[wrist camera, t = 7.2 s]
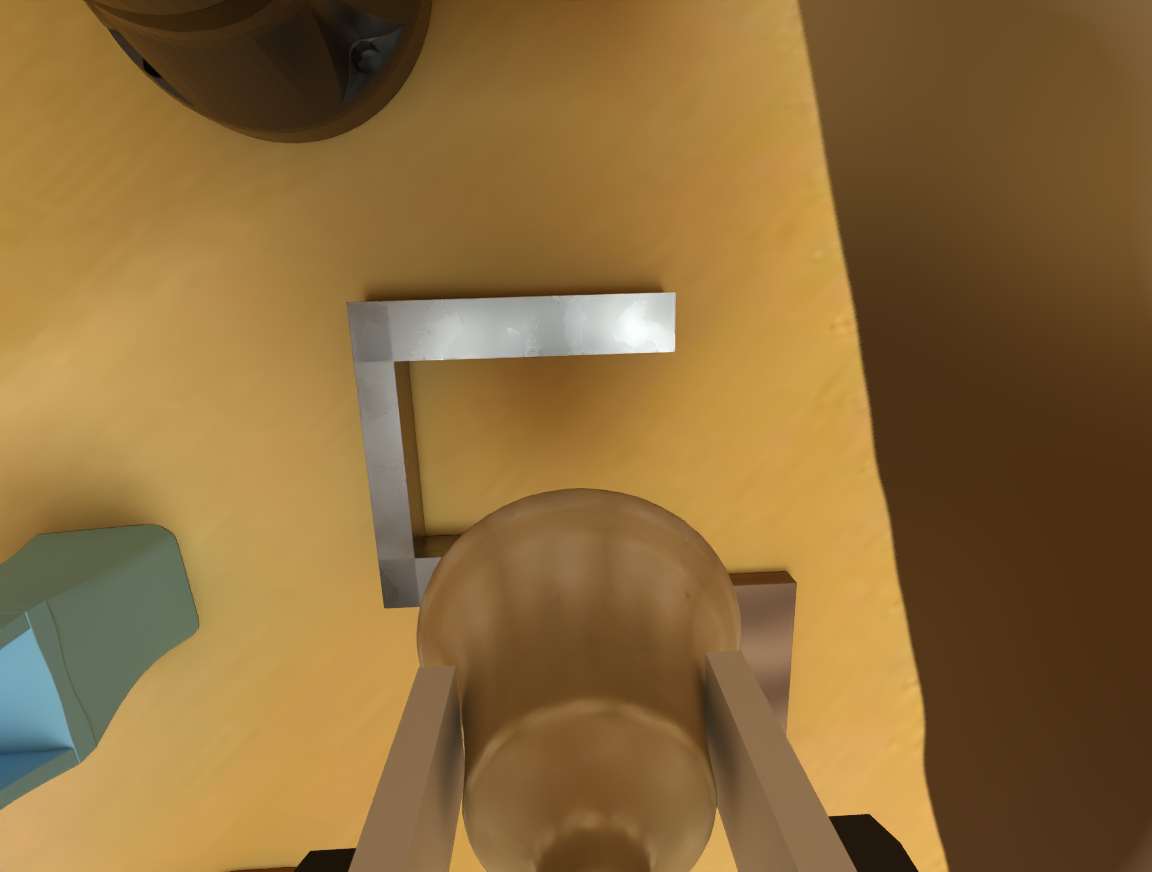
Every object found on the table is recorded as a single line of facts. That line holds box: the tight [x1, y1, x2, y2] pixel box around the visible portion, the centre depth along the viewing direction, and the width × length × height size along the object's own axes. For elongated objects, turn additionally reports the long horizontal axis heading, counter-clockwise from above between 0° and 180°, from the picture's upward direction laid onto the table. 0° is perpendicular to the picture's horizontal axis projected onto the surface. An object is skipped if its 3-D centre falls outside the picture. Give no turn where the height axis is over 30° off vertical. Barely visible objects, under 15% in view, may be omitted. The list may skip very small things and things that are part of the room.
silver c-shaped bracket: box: [347, 292, 676, 608], centre depth 33 cm, size 17×16×3 cm
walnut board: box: [729, 571, 797, 735], centre depth 38 cm, size 14×12×2 cm
